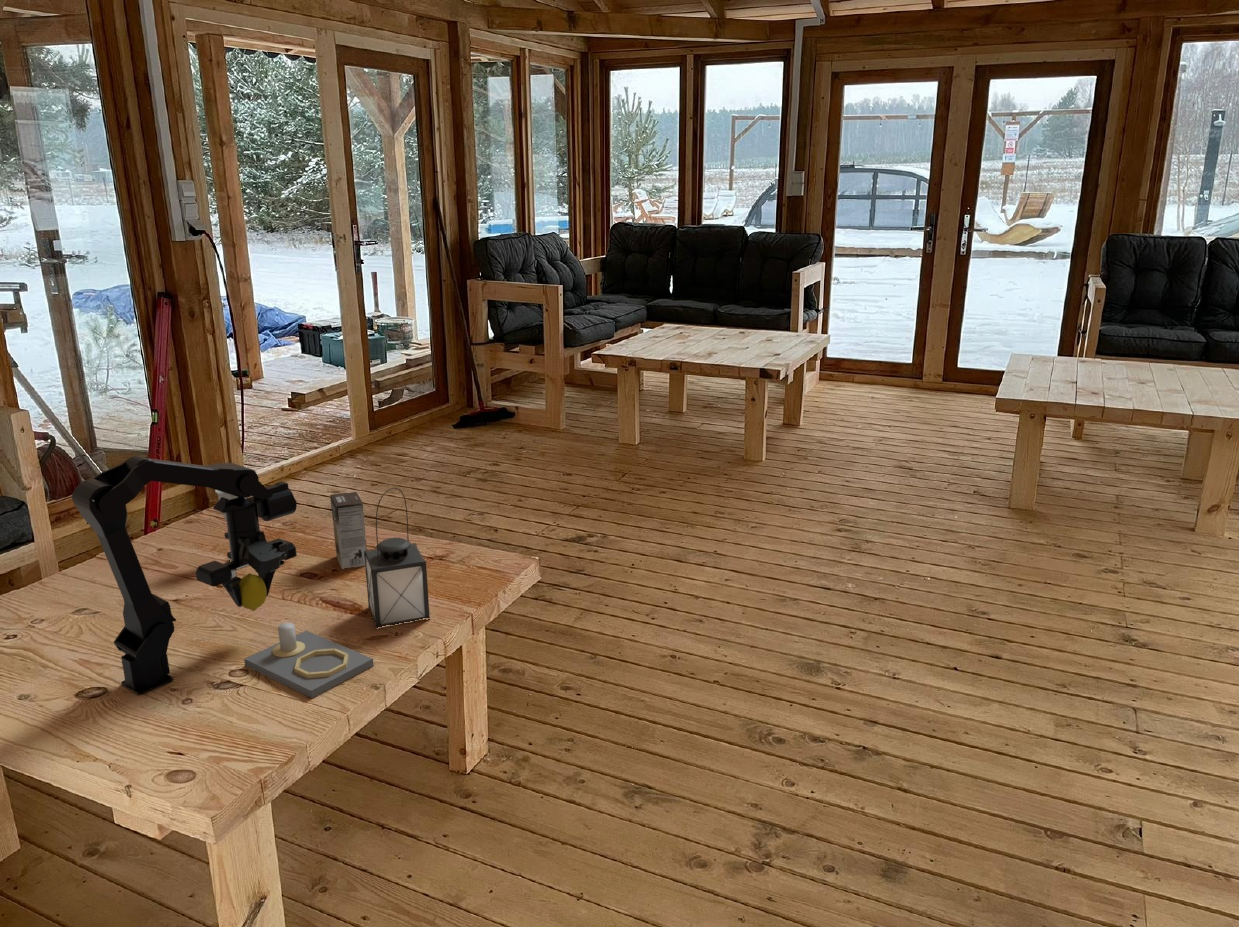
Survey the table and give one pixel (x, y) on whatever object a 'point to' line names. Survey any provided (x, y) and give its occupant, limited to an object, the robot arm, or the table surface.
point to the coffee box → (349, 529)
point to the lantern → (396, 581)
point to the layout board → (307, 661)
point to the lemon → (252, 591)
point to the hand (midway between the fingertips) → (252, 601)
